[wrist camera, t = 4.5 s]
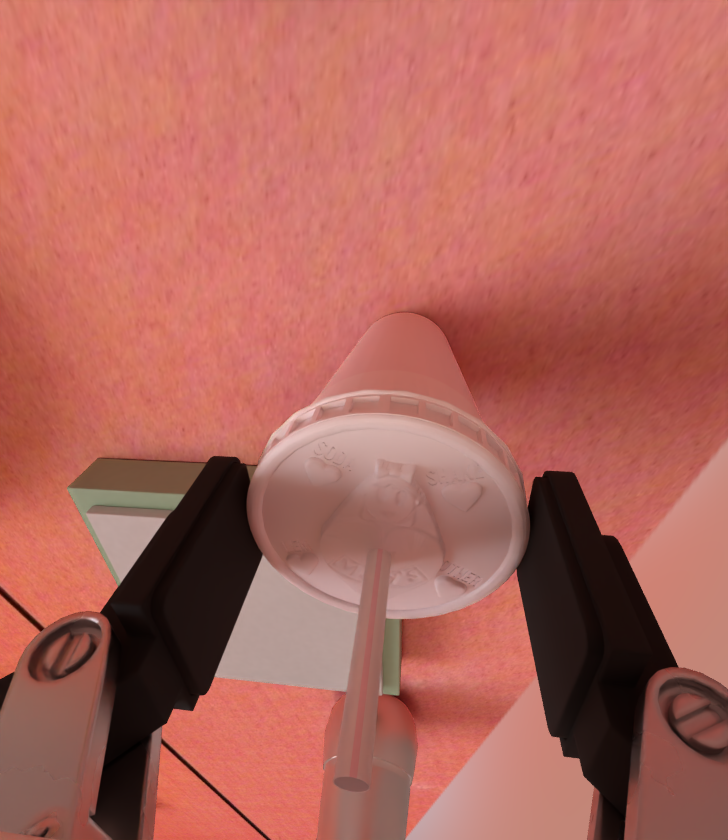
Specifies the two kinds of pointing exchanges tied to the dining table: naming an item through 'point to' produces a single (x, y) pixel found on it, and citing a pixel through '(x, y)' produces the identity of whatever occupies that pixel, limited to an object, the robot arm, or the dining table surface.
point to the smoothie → (388, 504)
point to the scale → (267, 597)
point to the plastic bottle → (390, 779)
